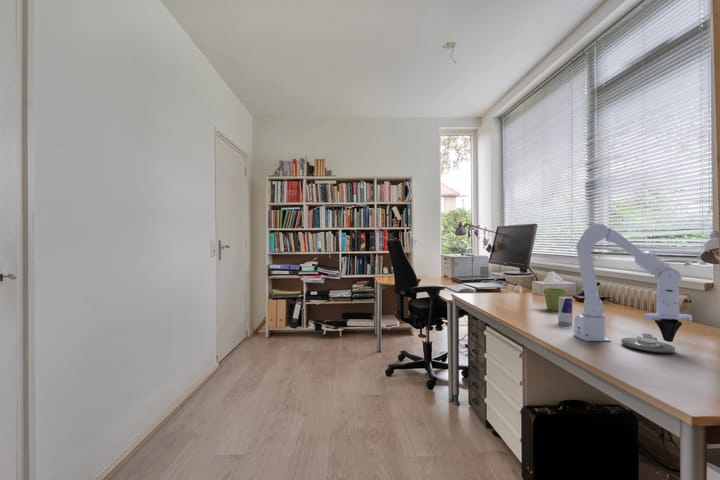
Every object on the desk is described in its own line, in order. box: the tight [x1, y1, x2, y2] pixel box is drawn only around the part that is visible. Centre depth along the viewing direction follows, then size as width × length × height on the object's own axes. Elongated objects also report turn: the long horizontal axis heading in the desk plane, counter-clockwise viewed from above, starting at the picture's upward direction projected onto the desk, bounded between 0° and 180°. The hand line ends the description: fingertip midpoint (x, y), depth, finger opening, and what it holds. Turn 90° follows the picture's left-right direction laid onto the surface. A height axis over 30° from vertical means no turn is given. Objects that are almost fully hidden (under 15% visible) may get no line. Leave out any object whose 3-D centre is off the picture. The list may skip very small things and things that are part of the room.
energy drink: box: [557, 296, 573, 326], centre depth 147 cm, size 5×5×12 cm
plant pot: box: [542, 287, 568, 312], centre depth 177 cm, size 12×12×11 cm
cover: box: [636, 333, 658, 346], centre depth 113 cm, size 5×5×3 cm
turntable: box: [620, 337, 676, 354], centre depth 113 cm, size 14×14×2 cm
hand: (668, 341), depth 113 cm, fingers closed
